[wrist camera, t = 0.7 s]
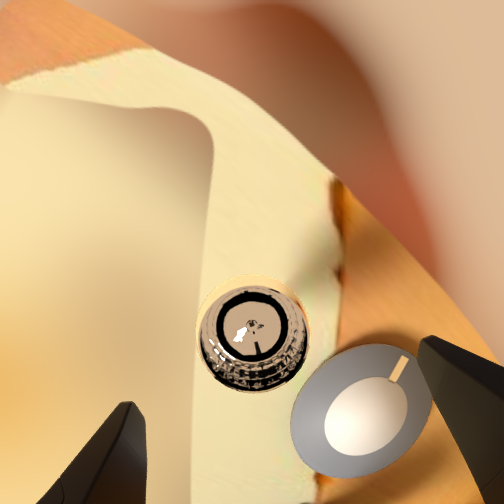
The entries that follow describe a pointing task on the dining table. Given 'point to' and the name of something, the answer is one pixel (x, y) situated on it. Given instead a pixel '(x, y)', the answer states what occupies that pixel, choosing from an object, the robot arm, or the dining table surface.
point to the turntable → (360, 411)
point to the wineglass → (253, 333)
